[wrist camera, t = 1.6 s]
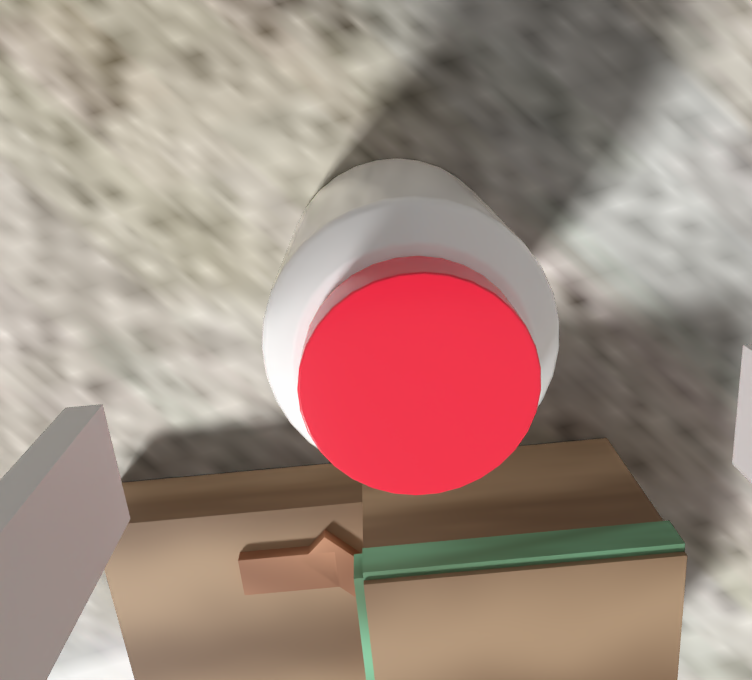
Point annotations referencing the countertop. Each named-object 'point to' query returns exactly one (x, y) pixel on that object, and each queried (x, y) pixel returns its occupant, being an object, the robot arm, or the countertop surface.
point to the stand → (402, 575)
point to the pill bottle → (409, 329)
